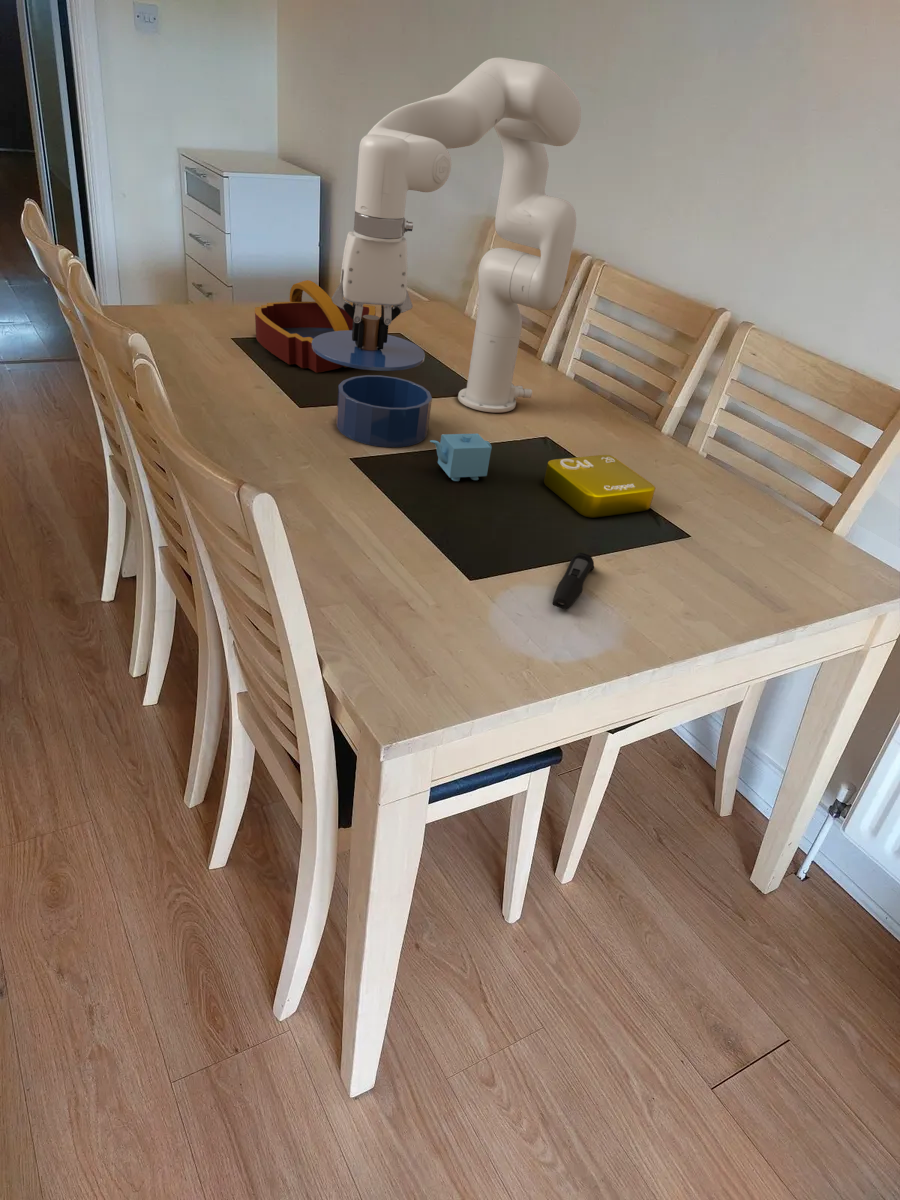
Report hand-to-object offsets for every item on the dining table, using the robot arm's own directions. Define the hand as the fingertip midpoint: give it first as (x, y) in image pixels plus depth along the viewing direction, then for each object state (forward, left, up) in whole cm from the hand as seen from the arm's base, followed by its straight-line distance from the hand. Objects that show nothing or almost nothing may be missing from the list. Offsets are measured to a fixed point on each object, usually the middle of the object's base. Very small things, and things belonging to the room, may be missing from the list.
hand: (368, 345), depth 142 cm
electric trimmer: (-25, +42, -21) cm, 53 cm away
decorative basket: (0, -63, -21) cm, 67 cm away
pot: (-7, -16, -21) cm, 28 cm away
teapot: (-17, +4, -21) cm, 28 cm away
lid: (0, 0, -1) cm, 1 cm away
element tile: (-41, +12, -21) cm, 48 cm away
